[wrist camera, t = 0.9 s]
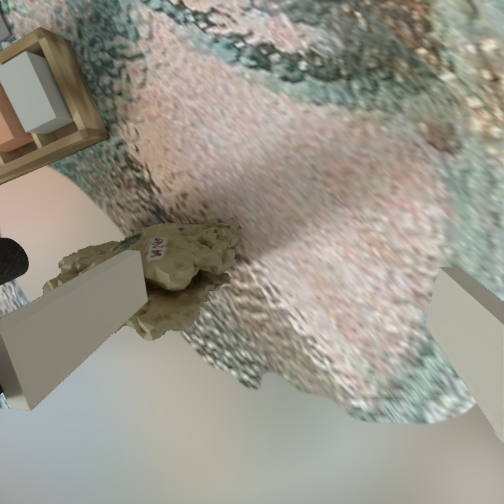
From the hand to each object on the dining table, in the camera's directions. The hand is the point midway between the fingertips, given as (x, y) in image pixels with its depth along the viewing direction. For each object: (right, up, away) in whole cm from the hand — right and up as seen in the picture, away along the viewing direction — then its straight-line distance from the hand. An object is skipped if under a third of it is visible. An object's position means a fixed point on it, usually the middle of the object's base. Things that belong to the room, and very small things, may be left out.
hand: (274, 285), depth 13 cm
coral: (-13, +2, +30) cm, 33 cm away
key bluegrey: (-27, +21, +22) cm, 41 cm away
